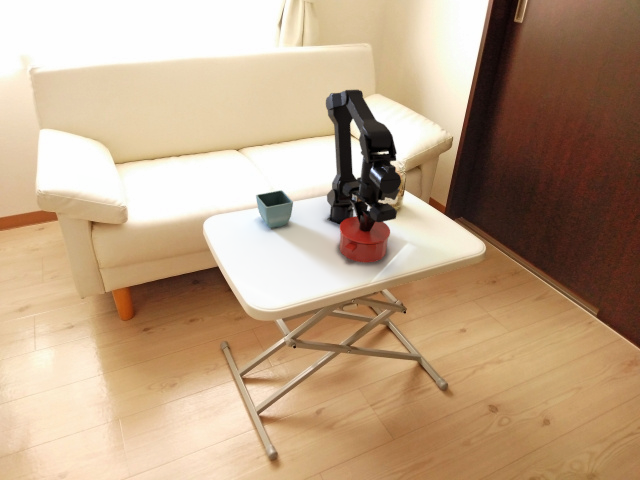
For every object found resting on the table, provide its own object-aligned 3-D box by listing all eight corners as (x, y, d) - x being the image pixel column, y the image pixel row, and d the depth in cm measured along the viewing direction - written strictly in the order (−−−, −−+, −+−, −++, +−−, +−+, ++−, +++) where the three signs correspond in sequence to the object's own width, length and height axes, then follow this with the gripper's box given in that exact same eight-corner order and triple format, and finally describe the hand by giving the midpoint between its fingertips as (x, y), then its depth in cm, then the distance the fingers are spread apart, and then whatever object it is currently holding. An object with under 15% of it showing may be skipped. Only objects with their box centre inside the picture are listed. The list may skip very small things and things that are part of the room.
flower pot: (266, 233, 136) (266, 207, 131) (255, 220, 142) (255, 194, 137) (293, 228, 139) (293, 202, 134) (281, 214, 146) (282, 189, 141)
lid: (329, 234, 125) (331, 216, 122) (354, 214, 136) (356, 197, 133) (375, 252, 119) (378, 234, 116) (398, 229, 130) (401, 212, 127)
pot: (325, 257, 127) (327, 238, 124) (358, 229, 140) (360, 211, 137) (367, 274, 121) (370, 254, 118) (396, 244, 135) (400, 225, 131)
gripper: (418, 186, 115) (408, 238, 123) (378, 159, 128) (371, 207, 137) (381, 193, 110) (373, 247, 119) (343, 164, 124) (339, 214, 132)
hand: (365, 227), depth 127 cm, fingers closed on lid, 3 cm apart
